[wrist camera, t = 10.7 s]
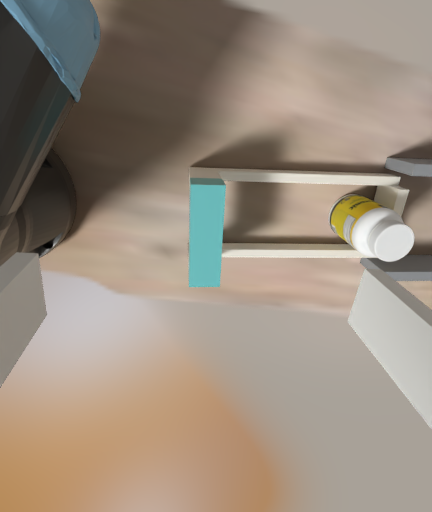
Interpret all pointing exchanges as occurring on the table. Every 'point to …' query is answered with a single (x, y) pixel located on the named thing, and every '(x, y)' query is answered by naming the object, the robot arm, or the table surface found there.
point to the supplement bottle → (371, 228)
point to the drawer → (212, 249)
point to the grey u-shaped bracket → (409, 264)
